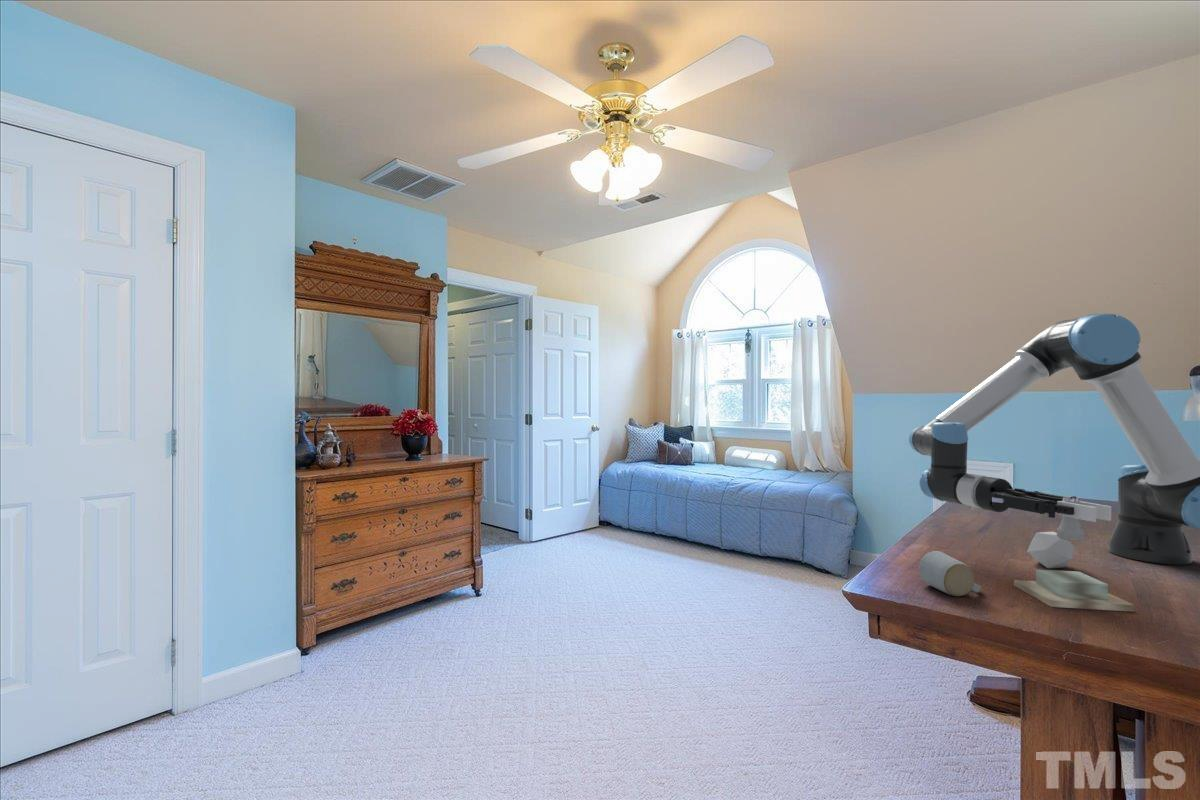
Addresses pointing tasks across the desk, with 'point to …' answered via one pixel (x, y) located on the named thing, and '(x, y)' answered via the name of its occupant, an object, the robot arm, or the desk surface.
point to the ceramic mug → (947, 574)
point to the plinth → (1070, 601)
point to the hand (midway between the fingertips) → (1102, 514)
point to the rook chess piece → (1070, 525)
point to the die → (1051, 550)
